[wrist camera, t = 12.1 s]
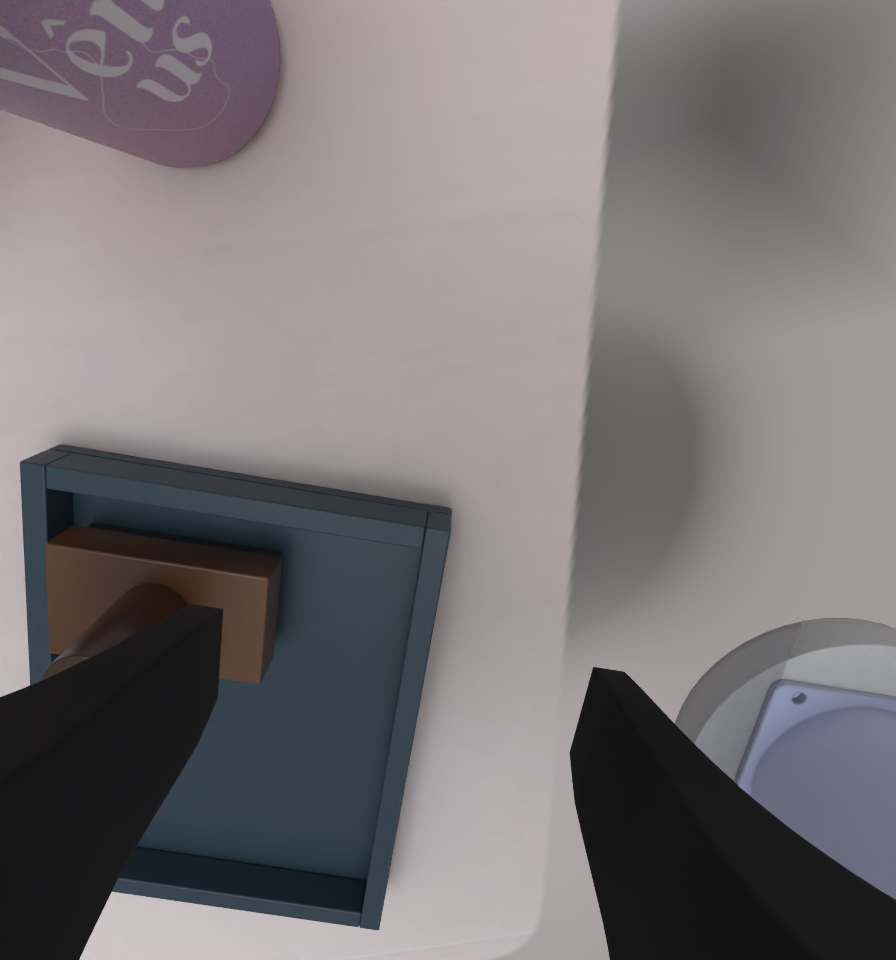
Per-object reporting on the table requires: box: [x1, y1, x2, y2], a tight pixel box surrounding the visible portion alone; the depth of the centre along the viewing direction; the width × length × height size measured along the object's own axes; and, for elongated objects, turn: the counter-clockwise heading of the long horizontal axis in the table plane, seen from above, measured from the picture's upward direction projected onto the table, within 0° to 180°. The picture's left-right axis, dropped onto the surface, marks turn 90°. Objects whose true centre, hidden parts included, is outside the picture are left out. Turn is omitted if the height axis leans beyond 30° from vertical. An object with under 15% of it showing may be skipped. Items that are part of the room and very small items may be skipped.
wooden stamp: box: [41, 523, 282, 684], centre depth 20 cm, size 7×4×6 cm, turn 81°
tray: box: [20, 445, 452, 930], centre depth 24 cm, size 14×18×2 cm
